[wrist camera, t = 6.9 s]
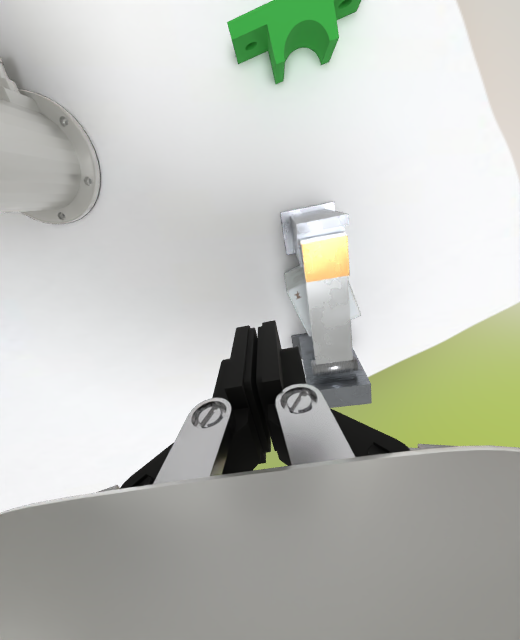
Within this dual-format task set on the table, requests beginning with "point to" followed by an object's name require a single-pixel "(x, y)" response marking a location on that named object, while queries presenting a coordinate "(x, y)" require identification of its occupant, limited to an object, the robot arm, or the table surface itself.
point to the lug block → (310, 225)
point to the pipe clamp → (289, 30)
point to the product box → (299, 297)
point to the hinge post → (334, 378)
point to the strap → (329, 302)
